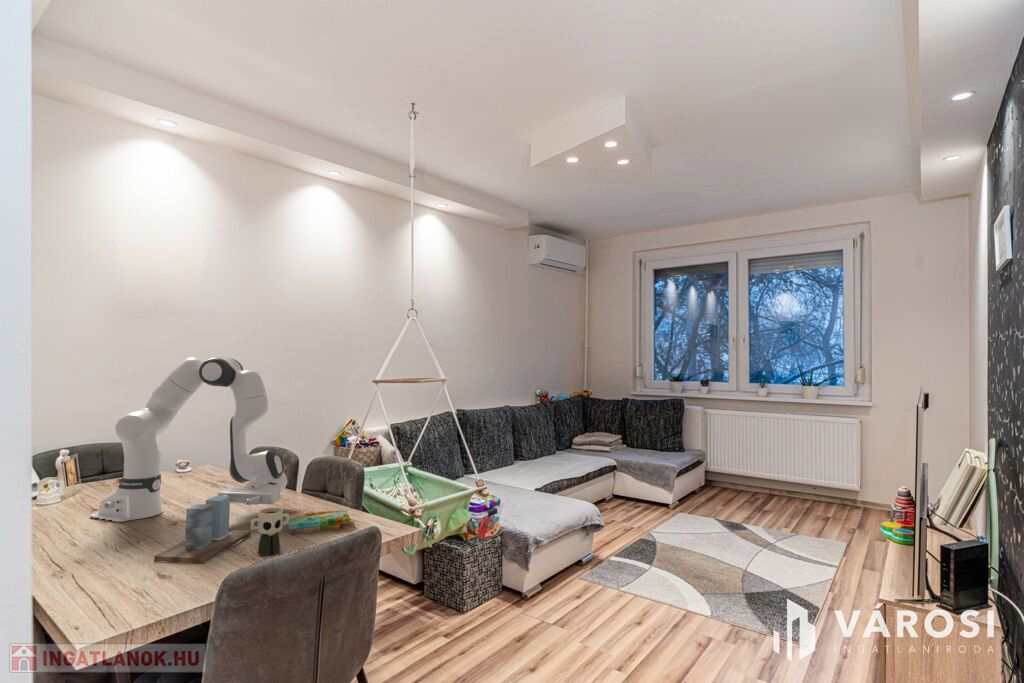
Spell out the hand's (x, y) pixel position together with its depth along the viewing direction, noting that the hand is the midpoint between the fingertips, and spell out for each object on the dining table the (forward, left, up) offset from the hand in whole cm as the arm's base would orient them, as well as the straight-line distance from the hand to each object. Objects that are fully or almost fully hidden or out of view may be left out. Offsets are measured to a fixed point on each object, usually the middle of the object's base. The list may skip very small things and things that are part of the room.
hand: (235, 501), depth 176 cm
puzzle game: (+27, +8, -10) cm, 29 cm away
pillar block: (0, -10, -8) cm, 13 cm away
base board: (+1, -15, -10) cm, 18 cm away
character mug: (+22, -18, -10) cm, 30 cm away
